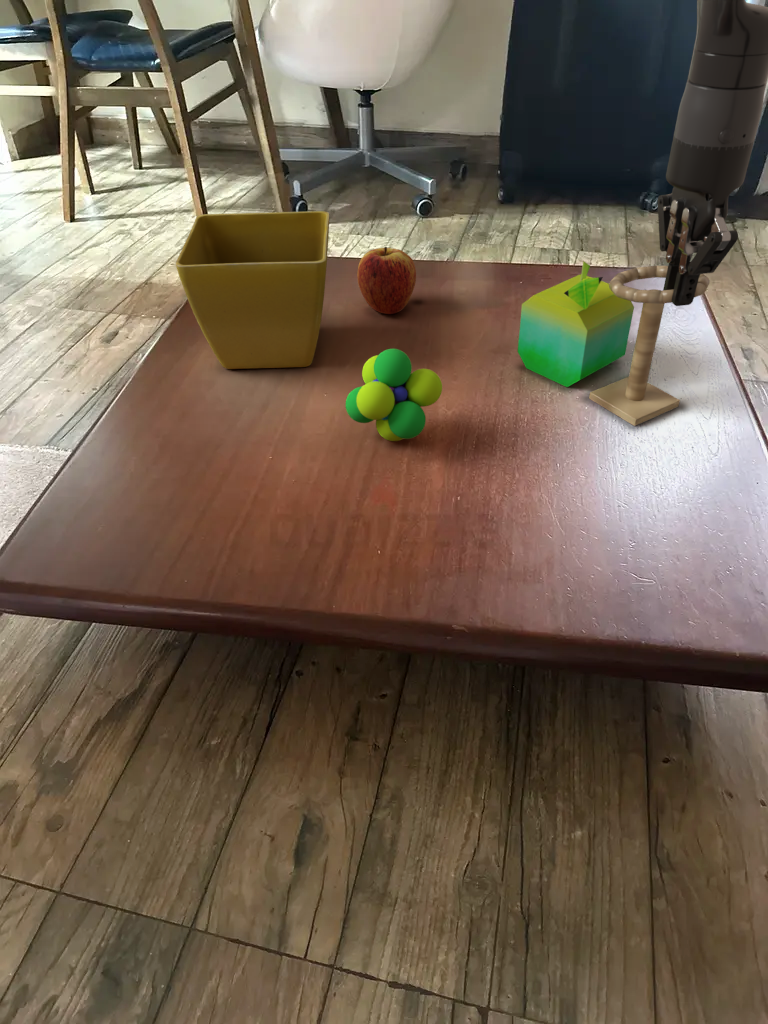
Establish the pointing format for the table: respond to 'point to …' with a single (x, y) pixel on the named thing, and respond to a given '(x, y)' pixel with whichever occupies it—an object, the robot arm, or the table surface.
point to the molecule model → (394, 395)
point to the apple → (386, 279)
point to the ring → (648, 295)
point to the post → (638, 377)
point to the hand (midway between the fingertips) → (676, 299)
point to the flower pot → (257, 285)
